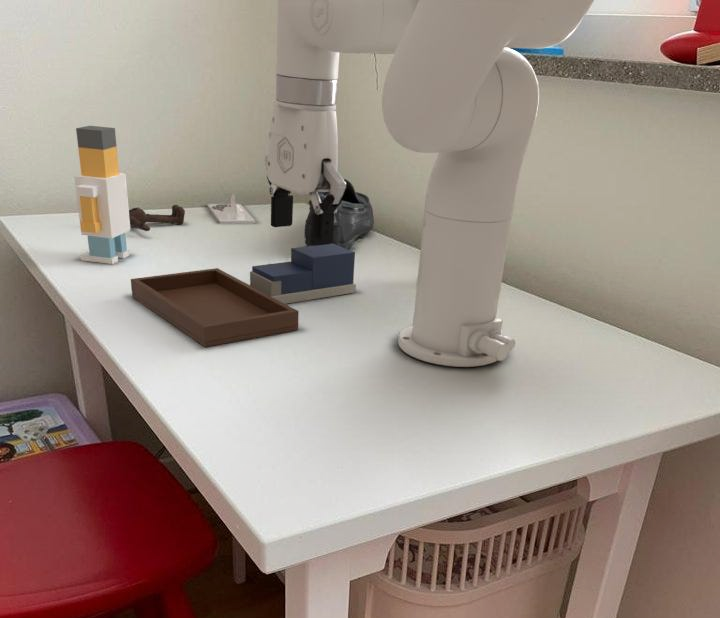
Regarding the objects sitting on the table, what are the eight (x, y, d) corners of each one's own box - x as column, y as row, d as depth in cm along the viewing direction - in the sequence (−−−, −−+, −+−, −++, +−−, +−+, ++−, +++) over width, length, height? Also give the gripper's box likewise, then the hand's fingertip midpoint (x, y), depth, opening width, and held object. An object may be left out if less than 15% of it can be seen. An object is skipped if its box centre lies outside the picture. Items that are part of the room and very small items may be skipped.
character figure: (83, 267, 111) (67, 132, 102) (76, 249, 119) (61, 122, 110) (138, 265, 114) (127, 133, 105) (128, 247, 122) (117, 123, 113)
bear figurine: (203, 215, 131) (120, 212, 123) (202, 241, 133) (120, 239, 125) (160, 195, 144) (82, 191, 135) (160, 219, 146) (82, 216, 137)
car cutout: (255, 223, 142) (255, 198, 140) (219, 223, 140) (218, 197, 138) (240, 206, 155) (240, 182, 152) (207, 206, 153) (206, 182, 150)
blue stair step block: (355, 292, 109) (358, 252, 106) (270, 306, 101) (270, 263, 98) (331, 281, 113) (333, 242, 110) (247, 293, 105) (247, 252, 102)
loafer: (377, 223, 148) (381, 167, 143) (362, 261, 123) (367, 195, 118) (324, 218, 149) (326, 162, 144) (299, 256, 124) (300, 189, 119)
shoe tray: (298, 330, 94) (298, 310, 93) (204, 347, 87) (204, 327, 86) (218, 285, 108) (217, 267, 107) (132, 297, 101) (130, 278, 100)
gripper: (244, 84, 98) (244, 221, 107) (320, 103, 87) (313, 255, 96) (294, 85, 102) (289, 217, 111) (373, 103, 91) (361, 249, 100)
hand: (300, 234), depth 104 cm, fingers open, 9 cm apart
